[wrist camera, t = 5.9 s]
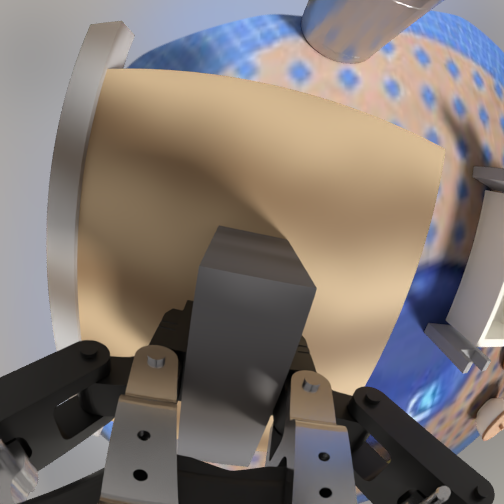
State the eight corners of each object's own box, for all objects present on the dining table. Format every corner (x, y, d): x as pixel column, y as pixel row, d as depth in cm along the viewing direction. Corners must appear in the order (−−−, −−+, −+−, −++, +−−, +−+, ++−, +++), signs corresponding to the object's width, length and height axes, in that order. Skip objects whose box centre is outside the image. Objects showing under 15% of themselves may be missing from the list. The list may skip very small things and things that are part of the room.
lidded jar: (499, 402, 43) (515, 422, 34) (469, 428, 45) (485, 450, 36) (500, 383, 41) (520, 405, 32) (469, 412, 42) (487, 436, 33)
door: (105, 37, 10) (38, -17, 4) (433, 108, 11) (522, 90, 5) (85, 413, 16) (55, 473, 10) (307, 454, 18) (320, 521, 11)
